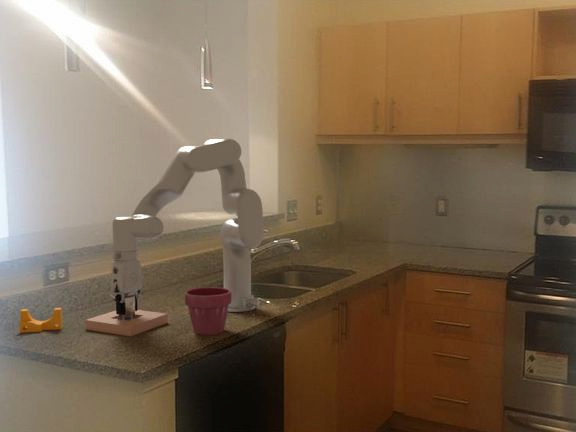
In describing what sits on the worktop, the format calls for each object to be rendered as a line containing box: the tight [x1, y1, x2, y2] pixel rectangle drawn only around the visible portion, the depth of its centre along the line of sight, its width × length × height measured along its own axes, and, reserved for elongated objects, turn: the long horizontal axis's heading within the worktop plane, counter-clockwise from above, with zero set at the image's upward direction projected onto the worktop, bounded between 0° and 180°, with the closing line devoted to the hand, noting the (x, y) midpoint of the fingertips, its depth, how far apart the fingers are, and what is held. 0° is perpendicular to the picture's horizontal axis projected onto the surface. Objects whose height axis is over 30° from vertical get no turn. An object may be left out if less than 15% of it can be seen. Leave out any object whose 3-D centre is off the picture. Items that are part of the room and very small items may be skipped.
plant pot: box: [184, 286, 232, 336], centre depth 216 cm, size 14×14×13 cm
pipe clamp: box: [18, 307, 63, 334], centre depth 219 cm, size 12×4×6 cm, turn 100°
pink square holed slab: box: [84, 309, 168, 337], centre depth 223 cm, size 18×18×3 cm
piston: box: [119, 291, 135, 320], centre depth 223 cm, size 5×5×9 cm
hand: (127, 312), depth 223 cm, fingers closed on piston, 5 cm apart
